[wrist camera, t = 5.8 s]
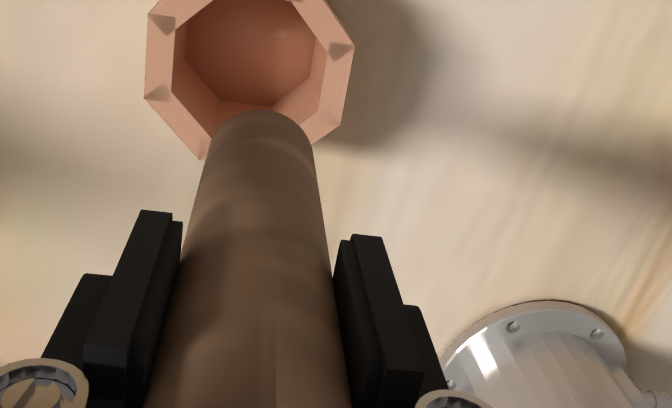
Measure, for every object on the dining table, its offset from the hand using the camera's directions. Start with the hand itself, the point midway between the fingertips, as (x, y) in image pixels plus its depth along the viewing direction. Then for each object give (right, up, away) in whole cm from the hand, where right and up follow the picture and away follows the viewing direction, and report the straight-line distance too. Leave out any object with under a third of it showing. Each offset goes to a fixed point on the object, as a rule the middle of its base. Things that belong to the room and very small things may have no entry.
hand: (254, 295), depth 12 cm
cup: (-2, +10, +18) cm, 21 cm away
